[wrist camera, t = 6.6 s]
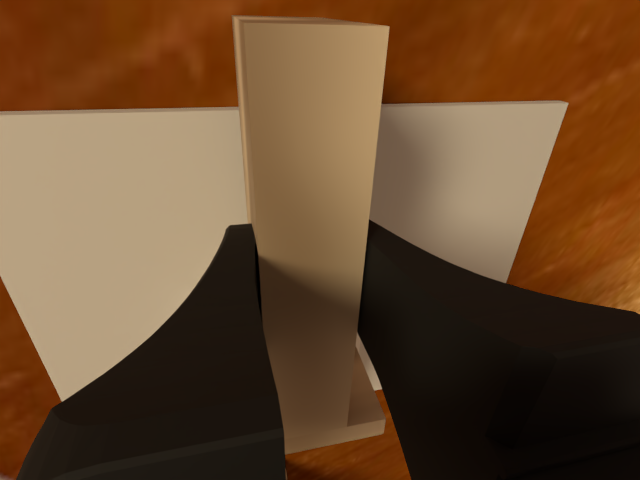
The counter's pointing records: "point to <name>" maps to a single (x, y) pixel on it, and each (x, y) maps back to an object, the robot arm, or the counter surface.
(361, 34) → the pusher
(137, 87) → the counter surface
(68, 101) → the counter surface
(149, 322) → the mat
